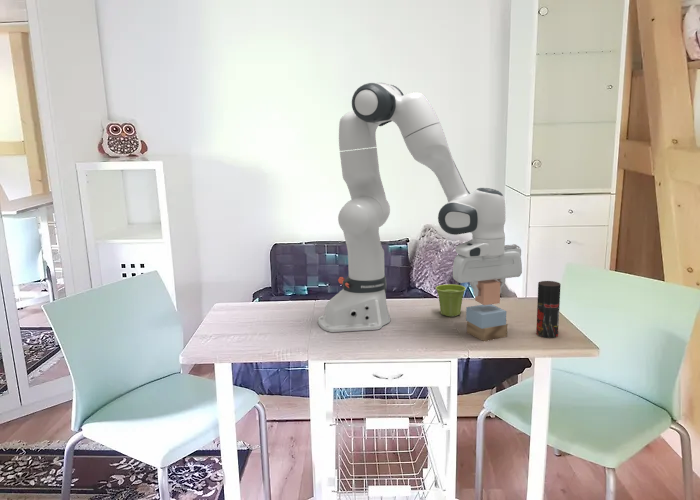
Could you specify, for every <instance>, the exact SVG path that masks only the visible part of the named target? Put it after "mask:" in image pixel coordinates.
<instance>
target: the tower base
mask: <svg viewBox="0 0 700 500" xmlns="http://www.w3.org/2000/svg"><path fill="white" fill-rule="evenodd" d="M466 333H467V334H468V335H470V336H473V337H474V338H476V339H479V340H481V341H482V342H484V341H485V342H488V340H489V341H493V339H494V340H498V339H501V338H502V339H503V338H507V337H508V323H506V325H501V326H495V327H489V328H483V329H481V328H479V327H478V326H476V325H474V324H472V323H470V322H468V321H466Z"/></svg>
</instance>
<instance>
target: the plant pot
mask: <svg viewBox="0 0 700 500" xmlns="http://www.w3.org/2000/svg"><path fill="white" fill-rule="evenodd" d="M466 289H467V288H466V287H465V286H464V285H462V284H461V285H460V284H454V283H453V284H452V283H451V284H448V283H447V284H440V285H437V286H435V290H436V293H437V295H438V300H439V302H438V303H439V310H440V314H441V315H442V316H446V317H456V316H458V315H459V316H460V315H461V311H462V304H463V303H462V302H463V299H464V294H465V291H466Z"/></svg>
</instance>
